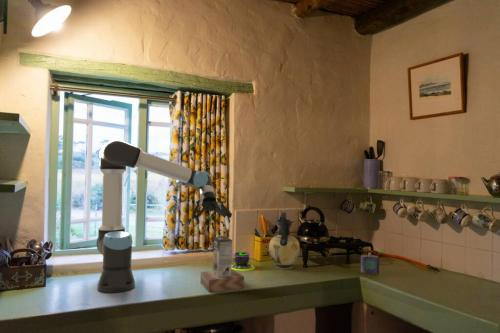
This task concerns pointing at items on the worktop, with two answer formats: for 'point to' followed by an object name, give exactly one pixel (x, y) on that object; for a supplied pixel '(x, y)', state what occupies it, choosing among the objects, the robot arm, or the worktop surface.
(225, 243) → the coffee box
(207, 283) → the walnut base
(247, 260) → the toy cauldron
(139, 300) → the worktop surface
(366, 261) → the flask
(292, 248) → the amphora
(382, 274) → the worktop surface
